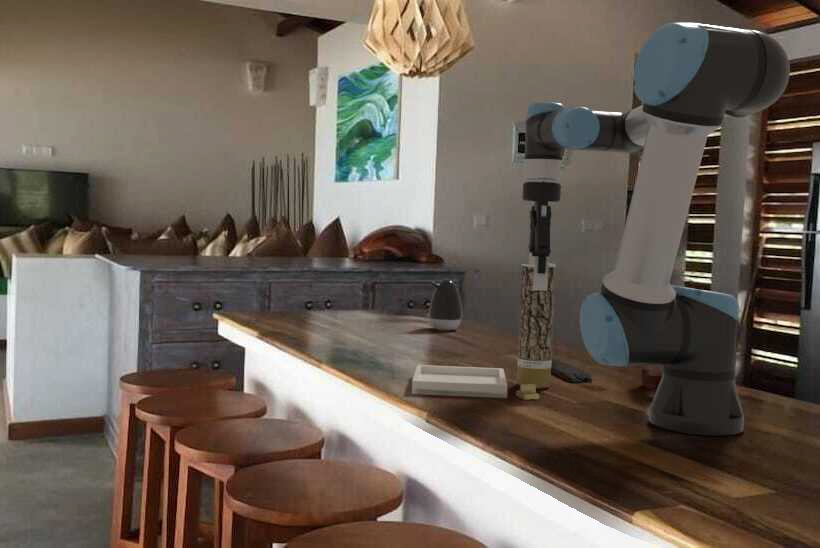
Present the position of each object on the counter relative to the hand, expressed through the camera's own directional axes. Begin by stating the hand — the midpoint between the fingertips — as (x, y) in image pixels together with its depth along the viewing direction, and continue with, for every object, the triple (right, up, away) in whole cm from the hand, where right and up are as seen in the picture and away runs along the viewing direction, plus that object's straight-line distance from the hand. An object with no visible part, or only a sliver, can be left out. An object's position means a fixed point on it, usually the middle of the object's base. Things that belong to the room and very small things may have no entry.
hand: (537, 287), depth 173 cm
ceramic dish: (-16, -20, -2) cm, 25 cm away
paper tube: (-1, -20, +1) cm, 20 cm away
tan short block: (-3, -21, -10) cm, 23 cm away
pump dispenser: (-15, -14, +85) cm, 87 cm away
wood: (+9, -20, +17) cm, 28 cm away
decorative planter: (+28, -21, +2) cm, 35 cm away
